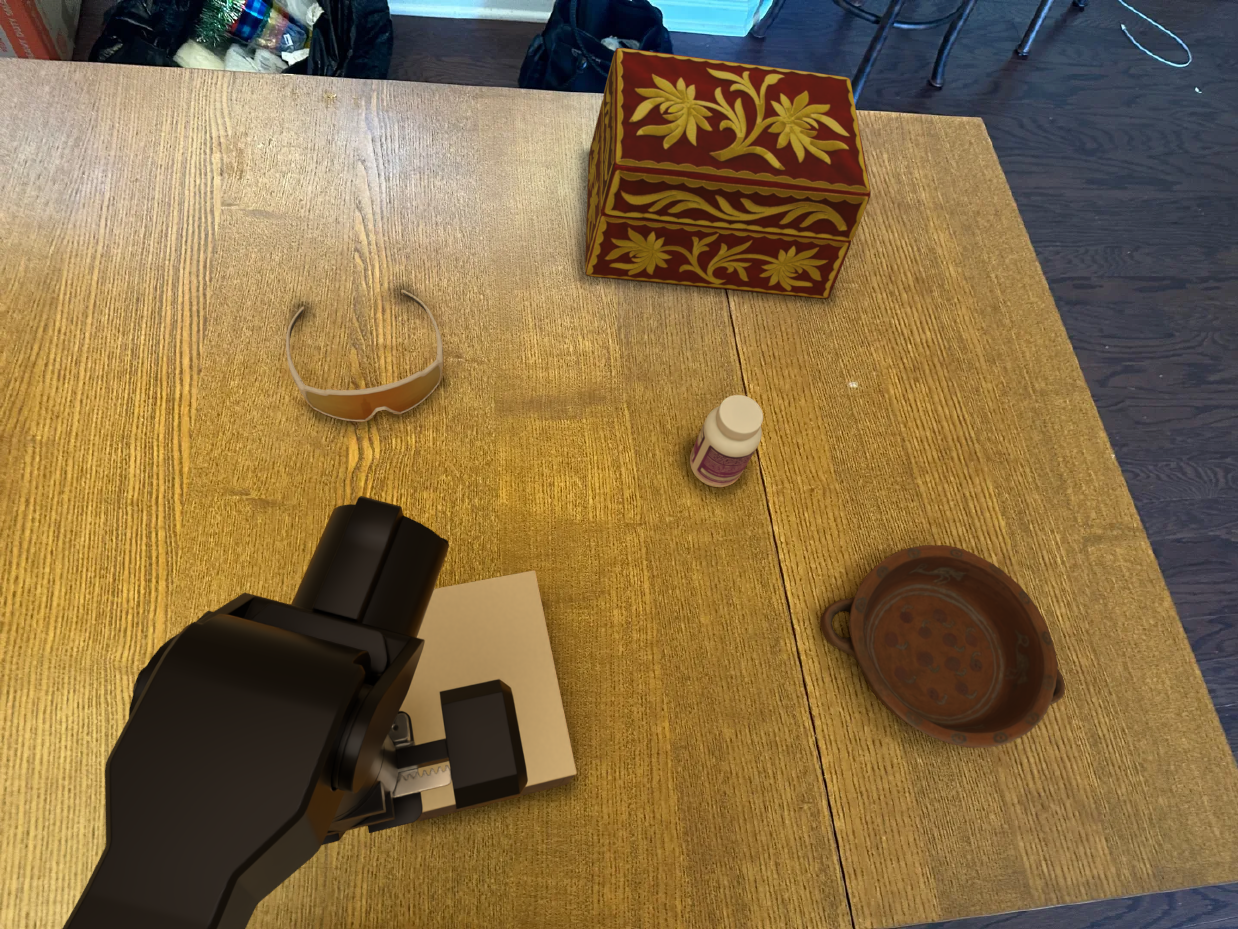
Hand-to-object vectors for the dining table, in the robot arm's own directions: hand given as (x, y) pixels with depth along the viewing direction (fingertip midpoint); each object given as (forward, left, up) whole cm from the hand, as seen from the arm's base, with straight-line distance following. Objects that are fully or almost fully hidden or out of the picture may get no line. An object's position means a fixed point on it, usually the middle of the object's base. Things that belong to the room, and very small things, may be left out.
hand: (365, 792), depth 50 cm
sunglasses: (+41, -3, -13) cm, 43 cm away
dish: (+2, -48, -13) cm, 50 cm away
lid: (+6, -8, -6) cm, 12 cm away
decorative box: (+54, -42, -13) cm, 69 cm away
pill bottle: (+24, -34, -13) cm, 43 cm away
